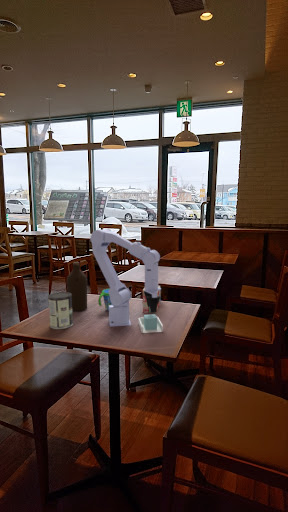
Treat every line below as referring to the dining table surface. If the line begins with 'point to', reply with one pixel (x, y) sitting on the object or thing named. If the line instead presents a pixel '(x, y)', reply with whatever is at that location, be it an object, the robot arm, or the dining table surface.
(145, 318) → the teal block
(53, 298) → the coffee can
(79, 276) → the olive oil
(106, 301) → the snack cup
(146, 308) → the stack of blocks
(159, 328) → the open box
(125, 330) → the dining table surface
